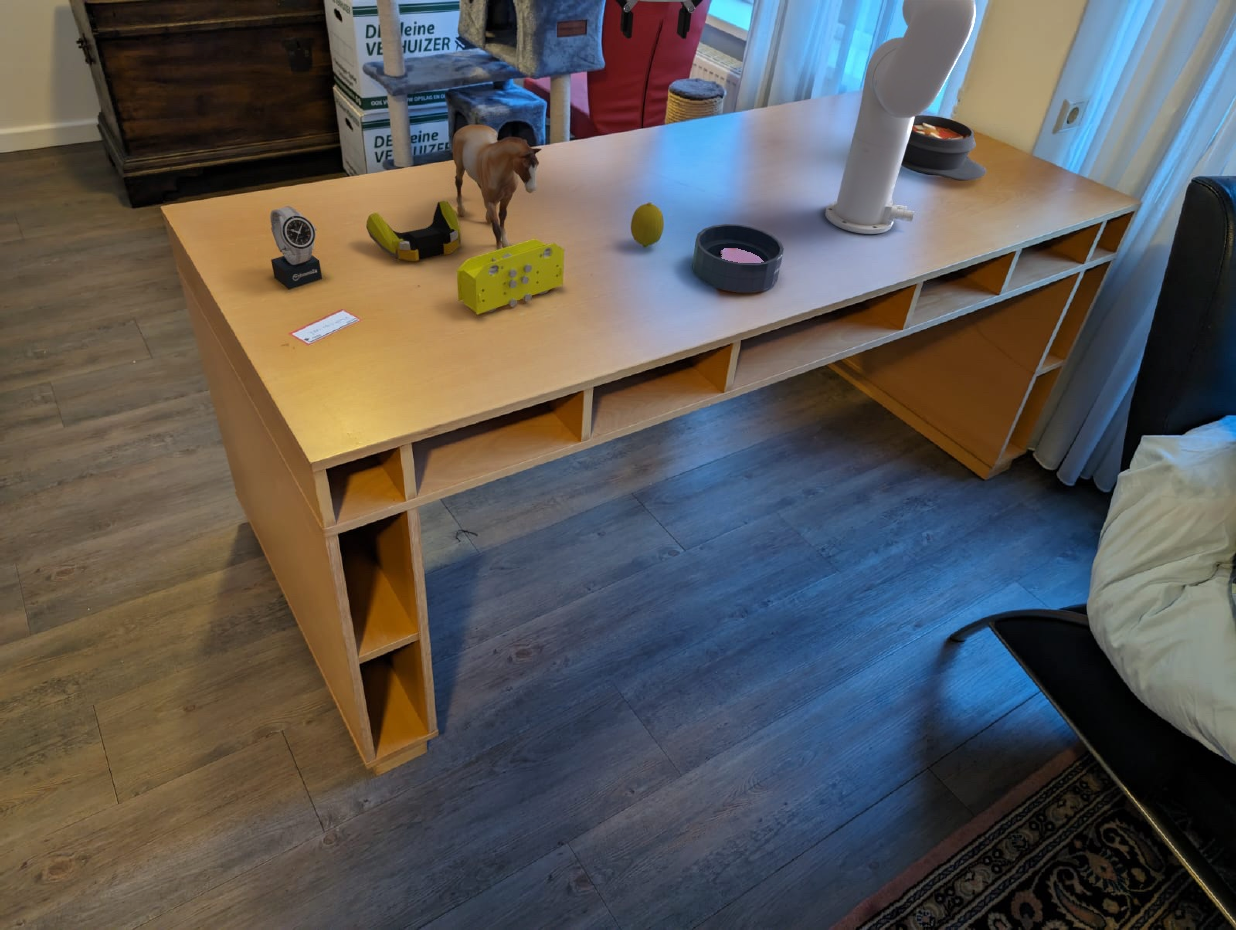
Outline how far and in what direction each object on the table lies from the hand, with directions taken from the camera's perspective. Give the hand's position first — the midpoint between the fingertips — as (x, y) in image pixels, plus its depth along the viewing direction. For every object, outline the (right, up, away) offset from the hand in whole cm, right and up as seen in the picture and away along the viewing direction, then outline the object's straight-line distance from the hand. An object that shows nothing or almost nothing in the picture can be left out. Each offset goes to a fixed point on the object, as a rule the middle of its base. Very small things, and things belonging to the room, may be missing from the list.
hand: (654, 36), depth 147 cm
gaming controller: (-39, -36, -3) cm, 53 cm away
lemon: (-1, -35, +3) cm, 35 cm away
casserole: (+61, -8, +42) cm, 74 cm away
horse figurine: (-26, -32, +3) cm, 41 cm away
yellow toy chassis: (-22, -46, -13) cm, 53 cm away
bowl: (+13, -40, -2) cm, 42 cm away
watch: (-55, -44, -13) cm, 71 cm away
